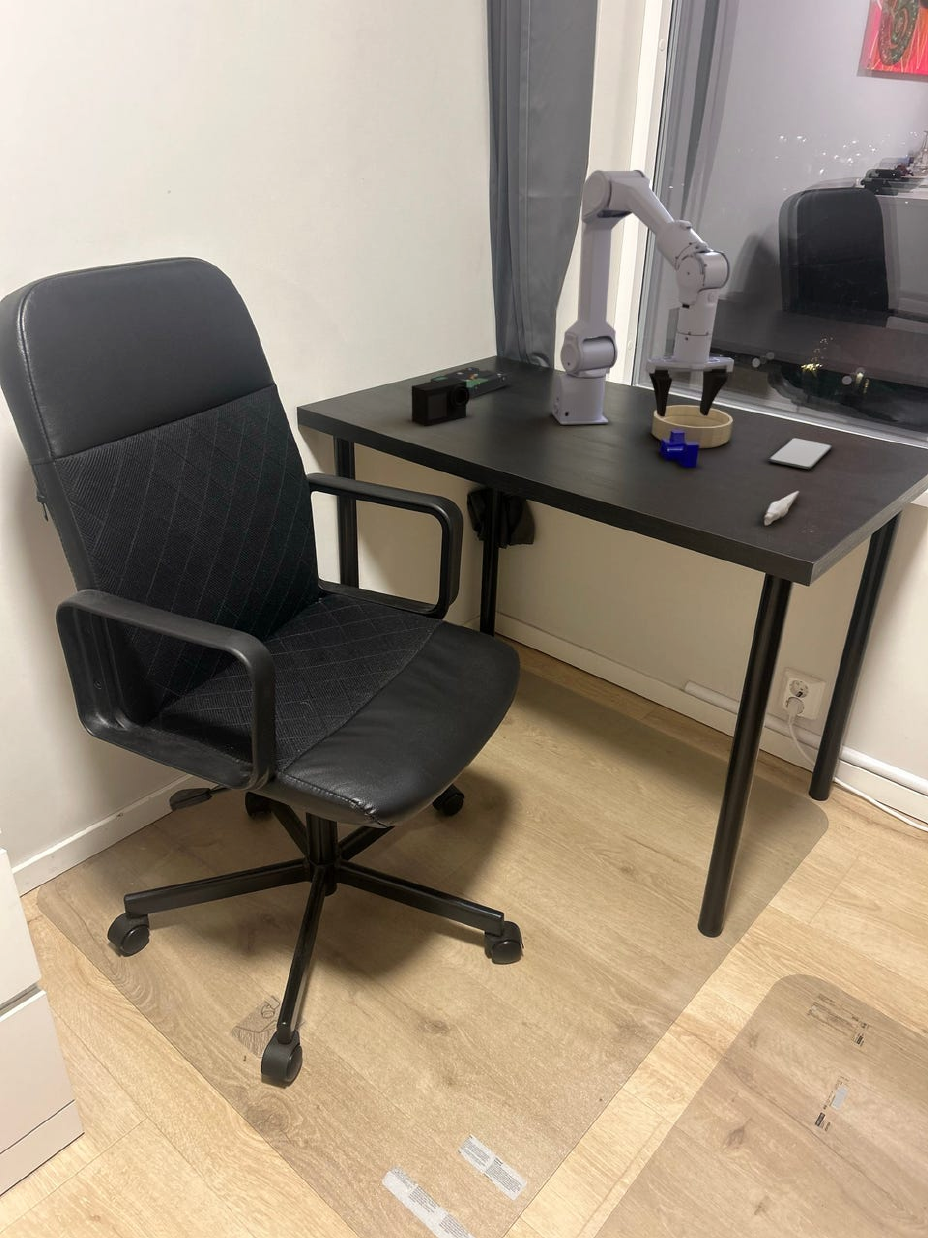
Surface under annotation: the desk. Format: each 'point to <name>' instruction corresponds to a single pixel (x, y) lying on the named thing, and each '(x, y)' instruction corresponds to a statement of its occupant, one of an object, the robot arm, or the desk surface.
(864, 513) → the desk surface
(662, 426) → the bowl
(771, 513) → the spindle seashell
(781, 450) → the smartphone
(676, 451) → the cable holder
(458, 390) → the digital camera
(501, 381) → the disk drive
